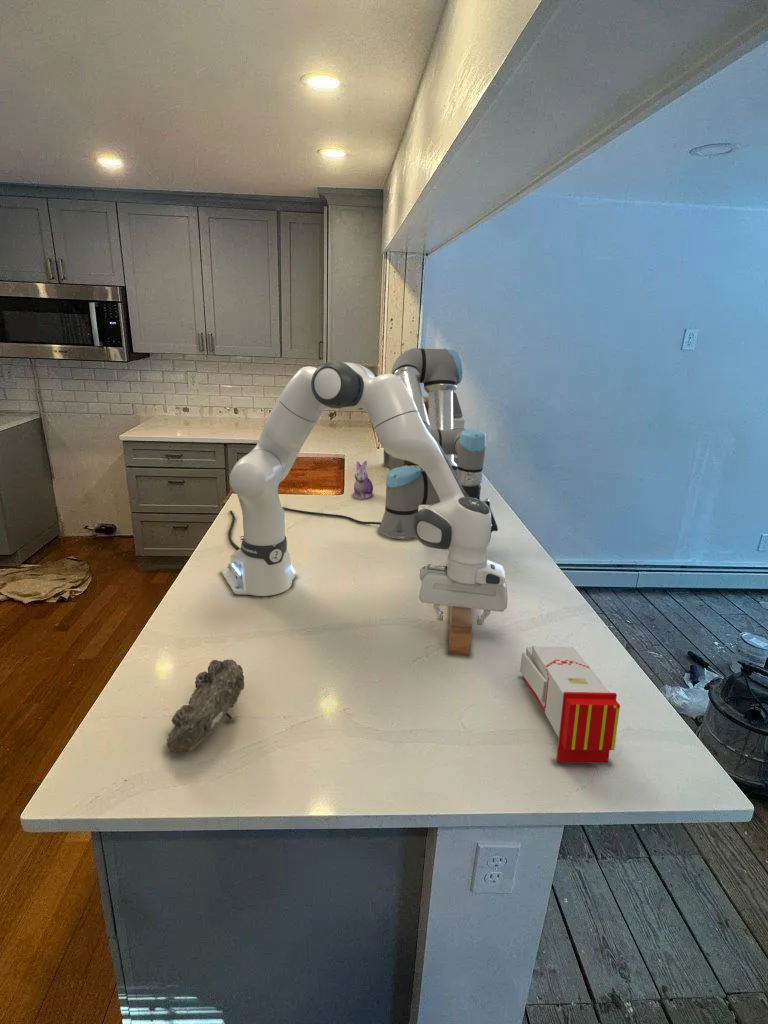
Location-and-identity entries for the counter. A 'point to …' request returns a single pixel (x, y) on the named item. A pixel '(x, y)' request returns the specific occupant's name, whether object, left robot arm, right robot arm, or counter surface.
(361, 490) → the figurine
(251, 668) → the counter surface
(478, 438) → the right robot arm
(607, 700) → the toy
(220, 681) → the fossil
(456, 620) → the beam
